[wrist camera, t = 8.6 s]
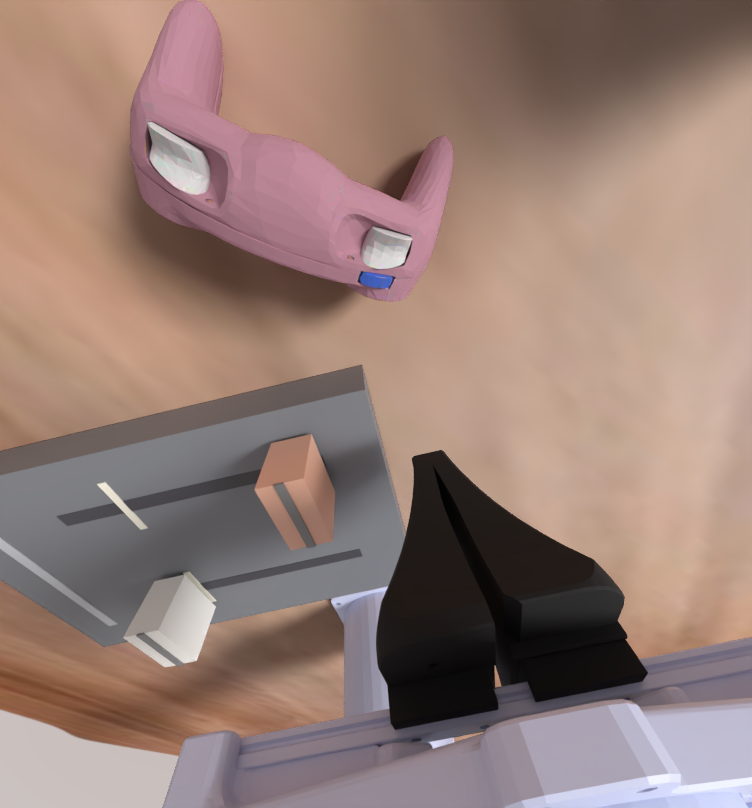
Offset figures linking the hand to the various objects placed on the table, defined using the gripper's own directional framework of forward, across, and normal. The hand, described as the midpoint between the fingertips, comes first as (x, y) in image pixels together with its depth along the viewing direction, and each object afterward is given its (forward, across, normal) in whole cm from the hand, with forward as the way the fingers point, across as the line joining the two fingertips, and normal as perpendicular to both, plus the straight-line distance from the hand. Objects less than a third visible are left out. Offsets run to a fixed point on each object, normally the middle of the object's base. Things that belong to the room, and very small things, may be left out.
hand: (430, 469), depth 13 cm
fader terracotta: (+2, +6, 0) cm, 6 cm away
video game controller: (+6, +2, -12) cm, 13 cm away
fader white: (+2, +17, +8) cm, 19 cm away
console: (+5, +14, +5) cm, 16 cm away
